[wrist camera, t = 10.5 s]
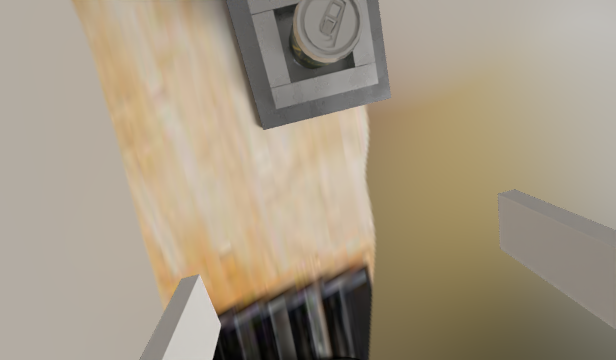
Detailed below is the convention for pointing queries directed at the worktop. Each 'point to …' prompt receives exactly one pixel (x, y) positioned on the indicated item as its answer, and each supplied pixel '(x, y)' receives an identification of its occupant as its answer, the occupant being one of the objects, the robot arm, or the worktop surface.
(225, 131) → the worktop surface
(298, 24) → the beer can
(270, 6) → the square frame
